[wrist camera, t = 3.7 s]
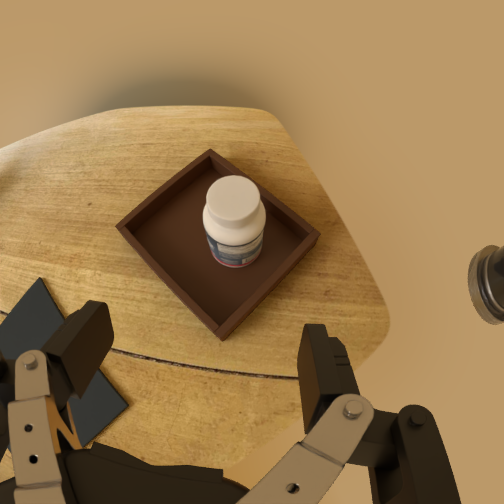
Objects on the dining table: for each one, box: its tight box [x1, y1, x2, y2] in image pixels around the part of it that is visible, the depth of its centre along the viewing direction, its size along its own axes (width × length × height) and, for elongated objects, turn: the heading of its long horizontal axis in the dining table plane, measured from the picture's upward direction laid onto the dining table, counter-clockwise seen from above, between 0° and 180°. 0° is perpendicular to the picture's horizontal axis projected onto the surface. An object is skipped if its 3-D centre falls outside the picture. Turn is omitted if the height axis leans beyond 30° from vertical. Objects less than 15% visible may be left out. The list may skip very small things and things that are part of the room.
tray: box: [115, 149, 320, 342], centre depth 29 cm, size 16×14×2 cm
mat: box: [0, 277, 129, 452], centre depth 22 cm, size 18×20×1 cm
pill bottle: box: [203, 175, 266, 268], centre depth 25 cm, size 5×5×9 cm
